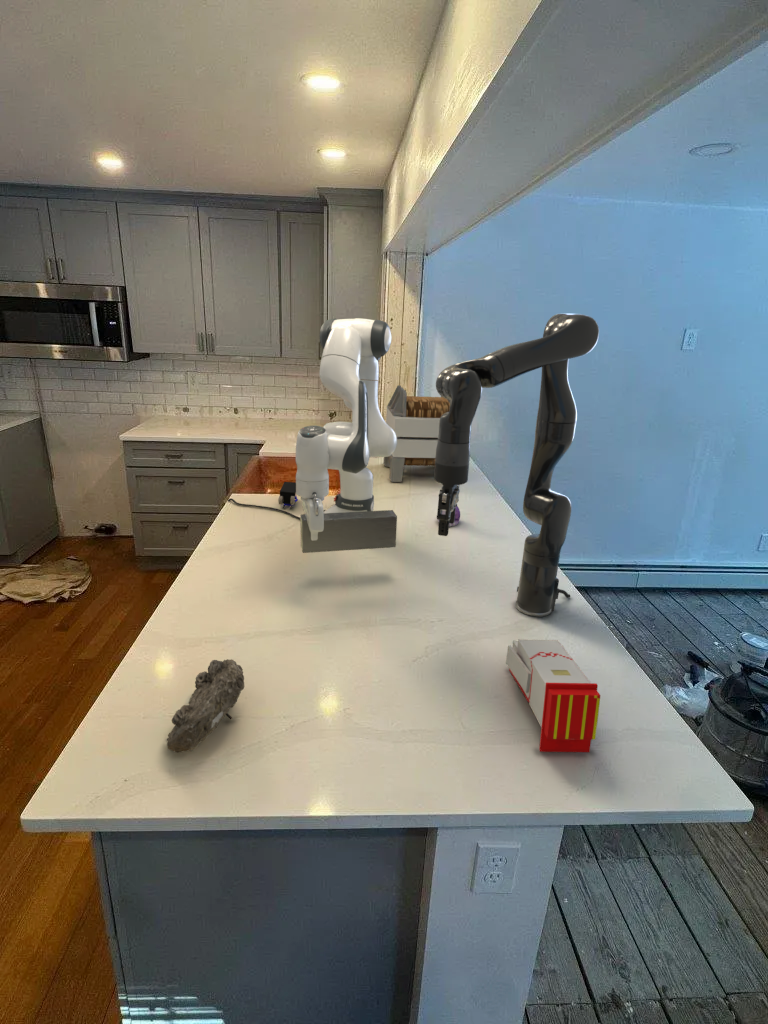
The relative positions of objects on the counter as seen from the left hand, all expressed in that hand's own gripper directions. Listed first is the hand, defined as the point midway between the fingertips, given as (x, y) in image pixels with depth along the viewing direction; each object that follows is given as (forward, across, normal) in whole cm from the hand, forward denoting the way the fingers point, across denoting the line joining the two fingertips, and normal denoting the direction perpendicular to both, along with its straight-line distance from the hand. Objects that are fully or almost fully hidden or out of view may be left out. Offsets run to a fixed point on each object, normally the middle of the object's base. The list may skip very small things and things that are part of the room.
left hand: (312, 534), depth 157 cm
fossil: (+14, -53, +25) cm, 61 cm away
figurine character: (+15, +68, +1) cm, 69 cm away
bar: (+4, 0, -10) cm, 11 cm away
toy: (+14, -61, -40) cm, 74 cm away
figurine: (+15, +40, -56) cm, 70 cm away
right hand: (-13, -31, -27) cm, 43 cm away
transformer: (+16, +107, -64) cm, 126 cm away
